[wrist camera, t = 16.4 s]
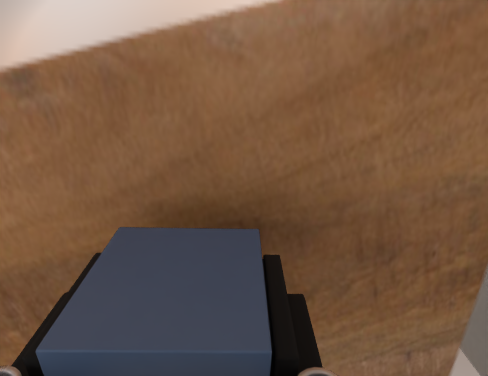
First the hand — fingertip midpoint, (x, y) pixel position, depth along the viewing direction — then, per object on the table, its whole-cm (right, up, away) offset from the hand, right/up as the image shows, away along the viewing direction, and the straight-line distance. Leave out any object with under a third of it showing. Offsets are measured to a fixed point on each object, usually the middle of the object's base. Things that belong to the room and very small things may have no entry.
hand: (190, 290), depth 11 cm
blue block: (0, 0, 0) cm, 0 cm away
